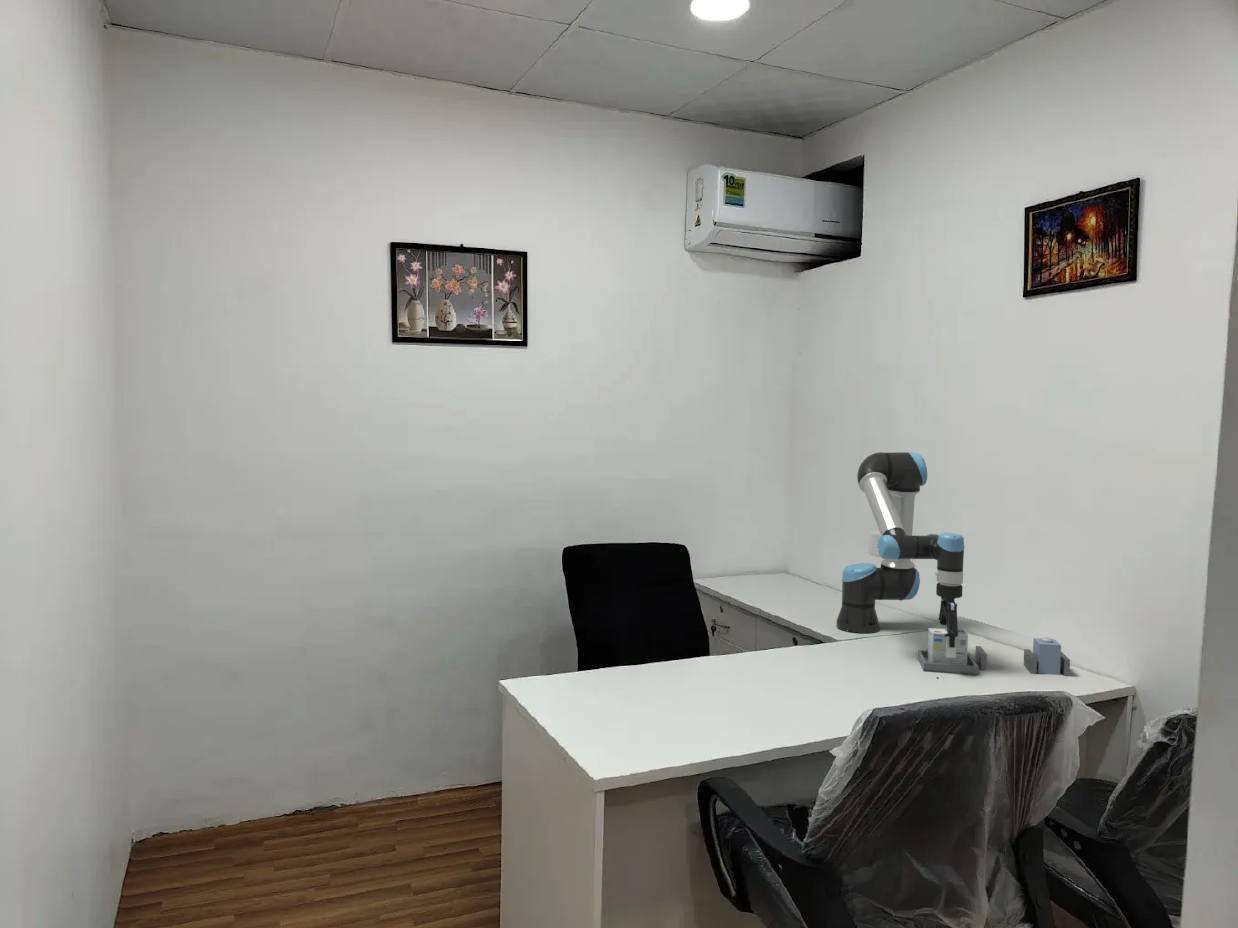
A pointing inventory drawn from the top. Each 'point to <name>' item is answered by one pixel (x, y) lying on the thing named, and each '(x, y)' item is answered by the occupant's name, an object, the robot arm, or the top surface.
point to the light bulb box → (939, 647)
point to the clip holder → (1029, 661)
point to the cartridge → (1047, 655)
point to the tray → (947, 665)
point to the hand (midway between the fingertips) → (947, 651)
